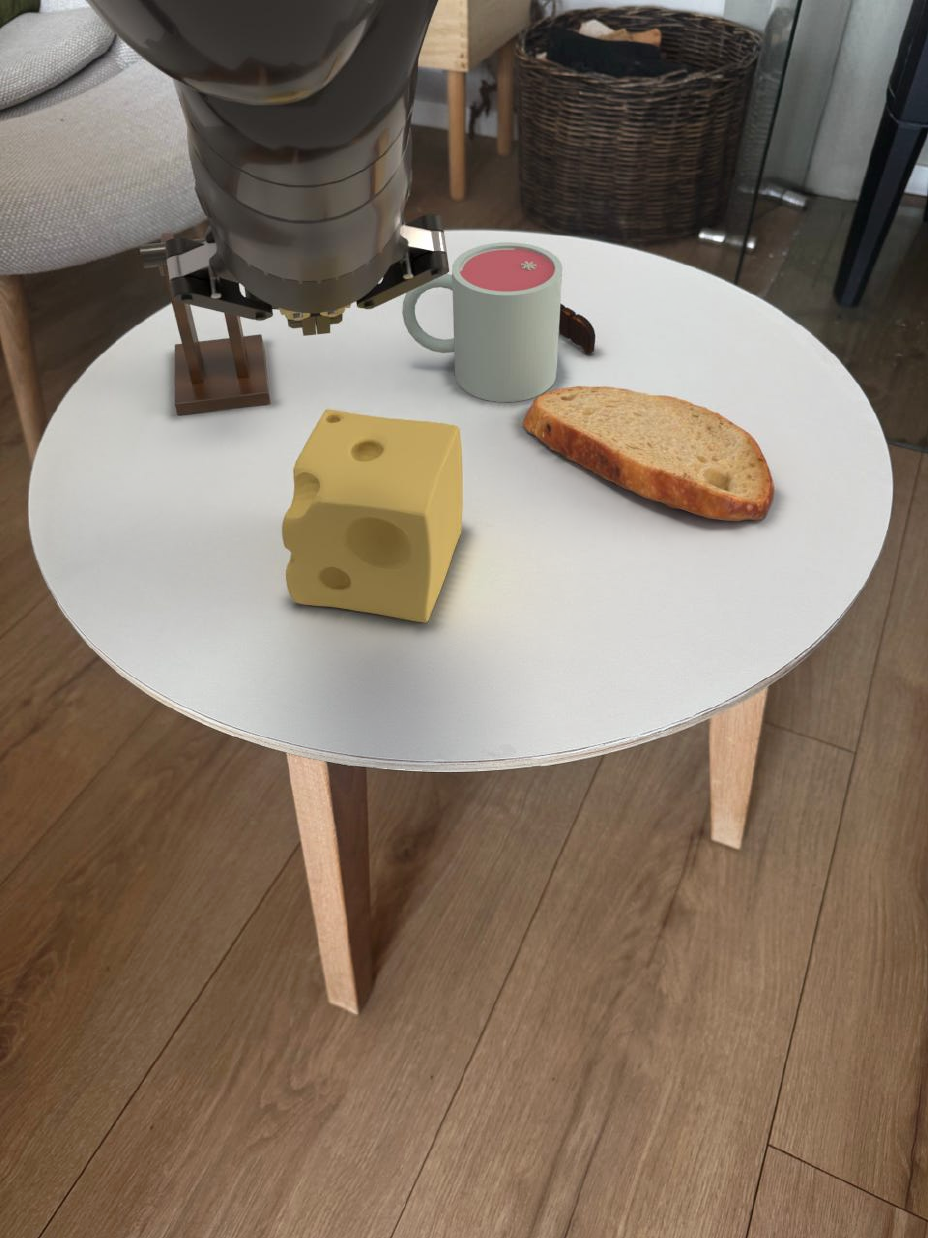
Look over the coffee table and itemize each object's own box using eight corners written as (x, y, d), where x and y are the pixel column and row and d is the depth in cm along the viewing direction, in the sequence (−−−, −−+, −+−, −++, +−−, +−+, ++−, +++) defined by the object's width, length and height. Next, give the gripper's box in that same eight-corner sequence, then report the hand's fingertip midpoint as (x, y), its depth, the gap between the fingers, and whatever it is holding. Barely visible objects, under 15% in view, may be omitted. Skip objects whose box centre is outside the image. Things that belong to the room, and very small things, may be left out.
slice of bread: (517, 406, 86) (518, 368, 83) (721, 391, 87) (729, 353, 84) (550, 543, 73) (553, 504, 71) (788, 525, 74) (799, 485, 72)
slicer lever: (227, 263, 72) (221, 228, 71) (143, 273, 71) (136, 237, 71) (236, 275, 84) (231, 245, 83) (164, 283, 83) (158, 252, 82)
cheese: (290, 606, 69) (267, 494, 62) (339, 509, 76) (323, 399, 69) (434, 630, 67) (428, 517, 60) (470, 528, 75) (468, 417, 67)
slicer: (270, 404, 87) (244, 264, 77) (177, 415, 86) (140, 275, 76) (263, 345, 93) (239, 210, 84) (177, 355, 92) (142, 220, 83)
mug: (560, 348, 92) (566, 244, 85) (551, 405, 86) (557, 298, 78) (415, 339, 94) (409, 236, 86) (396, 394, 87) (388, 288, 80)
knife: (477, 286, 101) (477, 258, 98) (484, 283, 101) (484, 255, 99) (587, 356, 91) (590, 327, 89) (595, 353, 91) (598, 323, 89)
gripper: (469, 55, 36) (425, 233, 54) (98, 82, 35) (176, 257, 52) (498, 260, 37) (445, 372, 54) (131, 297, 35) (198, 400, 52)
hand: (313, 315), depth 53 cm, fingers closed
